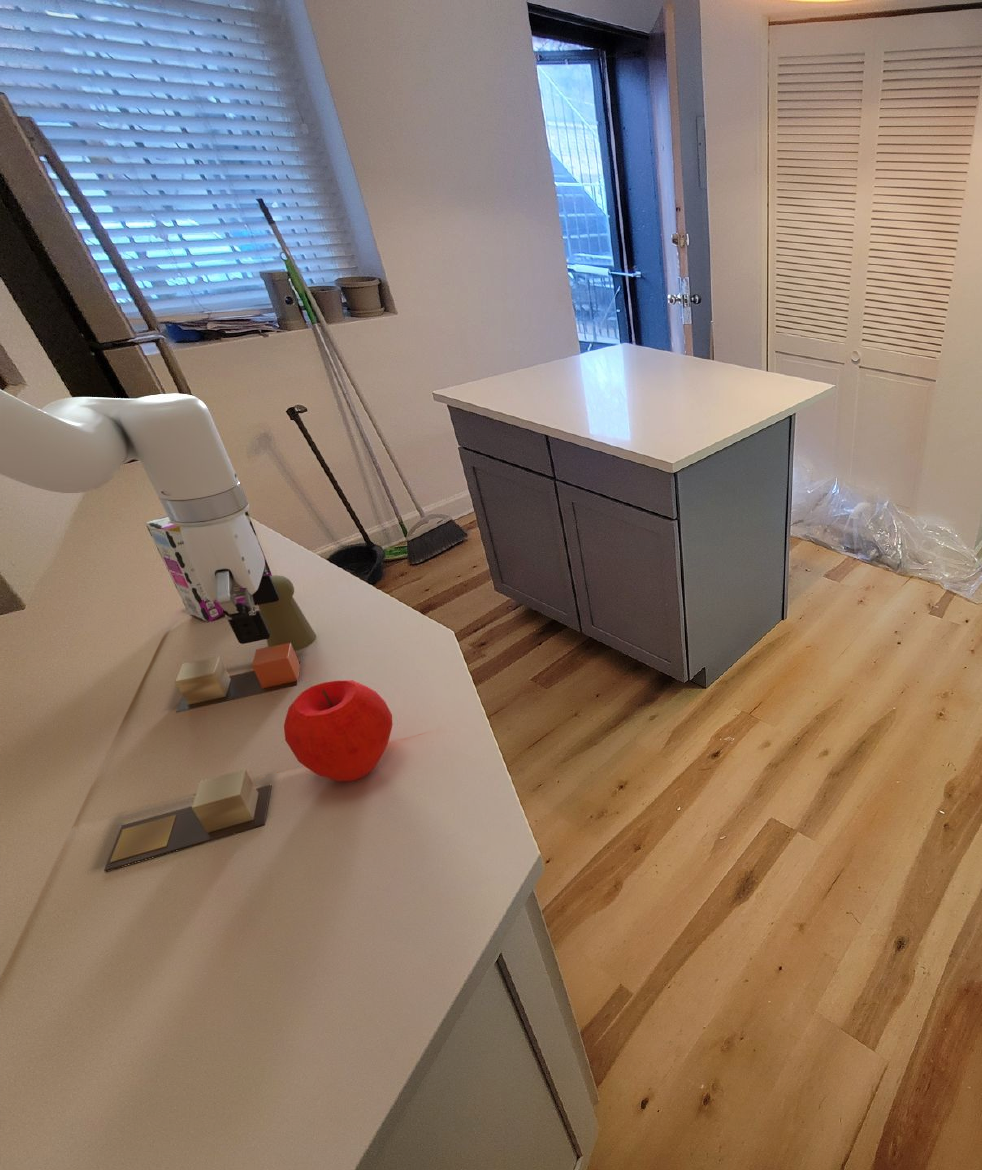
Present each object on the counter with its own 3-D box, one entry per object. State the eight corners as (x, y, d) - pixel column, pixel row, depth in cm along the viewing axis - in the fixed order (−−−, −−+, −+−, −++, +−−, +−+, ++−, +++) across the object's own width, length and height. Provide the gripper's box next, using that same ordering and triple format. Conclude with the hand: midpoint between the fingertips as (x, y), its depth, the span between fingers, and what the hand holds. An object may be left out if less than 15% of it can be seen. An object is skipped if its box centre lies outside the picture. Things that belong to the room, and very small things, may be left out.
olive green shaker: (258, 648, 95) (230, 585, 89) (297, 627, 100) (273, 566, 94) (288, 658, 93) (260, 595, 88) (326, 636, 98) (302, 575, 93)
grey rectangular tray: (177, 713, 83) (162, 688, 80) (187, 686, 87) (173, 661, 85) (297, 686, 88) (287, 662, 86) (301, 662, 93) (291, 638, 91)
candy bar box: (210, 624, 99) (163, 529, 91) (188, 616, 101) (141, 522, 92) (281, 591, 108) (245, 502, 100) (261, 584, 110) (224, 496, 101)
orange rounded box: (262, 688, 87) (251, 665, 85) (266, 672, 90) (255, 649, 88) (297, 680, 89) (287, 658, 87) (300, 664, 92) (290, 642, 90)
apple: (414, 735, 82) (389, 659, 75) (387, 796, 73) (357, 716, 67) (328, 742, 80) (296, 665, 74) (291, 805, 72) (250, 724, 65)
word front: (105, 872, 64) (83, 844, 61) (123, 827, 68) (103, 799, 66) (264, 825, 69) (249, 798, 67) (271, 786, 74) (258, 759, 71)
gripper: (182, 481, 81) (237, 595, 90) (145, 538, 68) (213, 664, 77) (255, 473, 84) (300, 584, 93) (232, 526, 71) (288, 649, 80)
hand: (261, 620), depth 85 cm, fingers open, 9 cm apart
